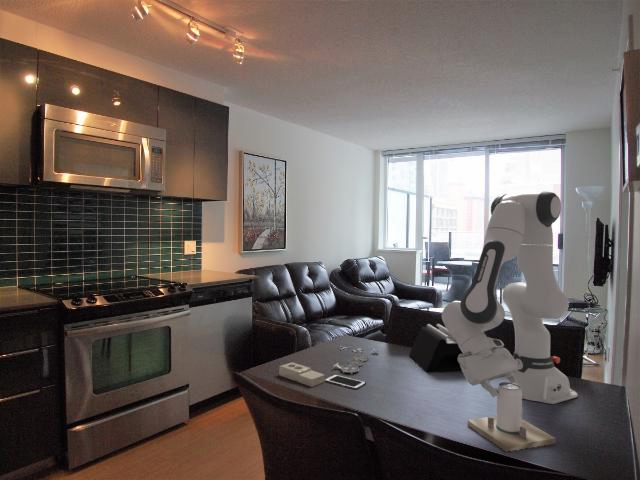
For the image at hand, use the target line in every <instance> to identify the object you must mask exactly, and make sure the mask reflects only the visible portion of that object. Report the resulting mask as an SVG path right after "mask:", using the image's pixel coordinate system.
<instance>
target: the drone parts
mask: <svg viewBox="0 0 640 480" xmlns="http://www.w3.org/2000/svg"><path fill="white" fill-rule="evenodd" d="M341 347H343V348H341ZM339 348H340V351H344V350H343V349H344V348H345V349H350V348H351V346H350V345H349V346H348V347H347V346H342V345H341V344H340V345H339ZM364 349H365V346H363V347H361V348H360V347H359V346H357V349H356V350H355V349H352V352H355V353H357V354H358V353H364V351H362V350H364ZM370 353H371V354H374V355H375V354H379V353H380V349H378V350H375V348H373V349H372V350H370ZM357 354H355V355H353V359H352V360H350V359H348V360H347V364H342V365H341V366H340V364H339V362H337V363H336V364H333V366H332V368H335V367H336V368H338V369H340V371H341V372H342V373H344V374H345V373H350V375H353V374H354V373H357V372H359V370H360V368H359V367H361V366H363V365H364V362H367V361H369V357H370V356H368V355H367V356H365V355H361V354H358V356H357Z"/></svg>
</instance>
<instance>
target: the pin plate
mask: <svg viewBox="0 0 640 480" xmlns="http://www.w3.org/2000/svg"><path fill="white" fill-rule="evenodd" d="M467 426H468V427H470V428H471V429H473V430H474V431H476V432H477V433H478V434H480V435H481V436H483V437H484V436H485V437H486V439H487V438H488V439H489V440H488V439H487V440H488V441H490V442H491V441H492V442H491V443H493V444H494V445H495V444H496V445H495V446H497V447H498V446H499V449H501V448H502V449H503V451H504V450H505V451H506V453H508V452H507V451H511V452H514V451H513V450H517V451H520V450H519V449H523V450H526V449H525V448H528V449H533V448H532V447H534V448H539V447H544V445H545V446H550V445H555V444H556V437H554V436H552V435H550V434H549V433H547V432H545V431H544V430H542V429H540V428H538V427H536V426H535V425H533V424H531V423H530V422H528V421H526V420H525V419H523V418H522V427H520V431H519V432H516V433H512V432H506V431H503V430H501V429H500V428H499V427H498V426H497V415H493V416H485V417H479V418H471V419H467ZM485 437H484V438H485ZM538 446H539V447H538ZM502 449H501V450H502ZM505 451H504V452H505Z"/></svg>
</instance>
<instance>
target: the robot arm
mask: <svg viewBox="0 0 640 480" xmlns="http://www.w3.org/2000/svg"><path fill="white" fill-rule="evenodd" d="M561 211H562V203H561V199H560V198H559V196H558V194H556V193H555V192H551V191H523V192H517V193H511V194H507V193H506V194H500V195H499V196H496V197H495V198H494V199H493V201H492V202H491V205H490V215H491V216H490V219H489V221H488V225H487V228H486V231H485V237H484V241H483V245H482V246H483V247H482V251H481V254H480V257H479V260H478V263H477V266H476V269H475V272H474V277H473V279H472V282H471V284H470V286H469V288H468V289H467V290H466V291H465V293H464V294H463V295H462V297H461V300H453V301H451V302H449V303H448V304H447V305H446V306H445V307H444V308H443V310H442V312H441V319H442V322H443V324H444V327H446V328H447V330H448V331H449V333H450V334H451V336H452V337H453V338H454V339H455V340H456V341H457V343H458V346H459V348H460V350H461V351H462V353H463V354H459V355H458V362H459V364H460V367H461V369H462V372H461V373H462V374H463V376H464V377H465V379H466V381H467V382H468V384H469V385H471V386H472V387H474V386H477V385H481V387H482V388H483V389H484V390H486V391H487V392H488V393H489V394H490V396H491V397H493V398H495V397H497V395H499V391H498V390H497V389H498V387H494V386H493V385H492V384H490V383H491V381H494V380H497V379H501V378H504V377H505V378H506V379H507V380H508V381H509V383H514V384H517V385H519V386H520V387H521V388H520V389H521V391H522V400H523V399H524V400H528V401H534V402H541V403H545V404H549V405H555V404H558V403H562V402H565V401H569V400H571V399H572V400H573V399H575V398H577V397H578V393H577V392H576V391H575V390H573V389H571V387H570V381H569V378H568V376H566V374H564V373H563V372H562V371H560V369H558V368H557V367H555V364H554V363H556V364H559V363H560V362H561V359H560V357H558V356H556V355H555V356H554V355H553V356H551V333H550V331H549V330H548V328H546V326H545V324H544V322H543V320H542V319H545V320H546V319H547V320H556V319H557V320H558V319H561V318H563V317H564V316H565V315H566V313H567V312H568V309H569V307H570V305H569V303H570V301H569V298H568V296H567V295H566V293H564V292H563V290H562V288H561V287H560V286H559V283H558V281H557V278H556V275H555V272H554V265H553V263H554V257H553V255H554V254H553V253H554V235H553V233H554V232H553V226H552V225H553V223H555V222H556V221H557V220H558V219H559V217H560V215H561ZM516 257H517V258H516ZM515 258H516V264H517V268H518V270H520V272H521V273H522V274H523V277H524V279H525V281H519V282H518V281H517V282H511V283H509V284H507V285H506V286H505V287H504V288H503V291H502V293H501V294H502V295H501V296H502V301H503V303H504V304H505V306H506V307H507V308H508V311H509V313H510V316H511V318H512V320H511V321H512V323H513V327H514V328H513V329H514V339H515V340H514V344H515V346H514V349H515V350H514V351H513V355H512V354H511V352H510V351H509V350H508V348H505V347H504V346H505V344H504V342H503V341H502V340H501V339H497V338H492V337H489V336H487V335H486V334H485V332H487V331H489V330H493V329H494V328H496V327H499V326H500V325H501V324H502V323H503V322H504V320H505V317H506V314H505V313H506V312H505V308H504V307H503V305H502V304H501V302H500V301H498V300H497V298H496V294H495V289H496V286H497V285H496V284H497V282H498V279H499V274H500V270H501V268H502V266H503V264H504V263H505V262H508V261H511V260H513V259H515Z"/></svg>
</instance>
